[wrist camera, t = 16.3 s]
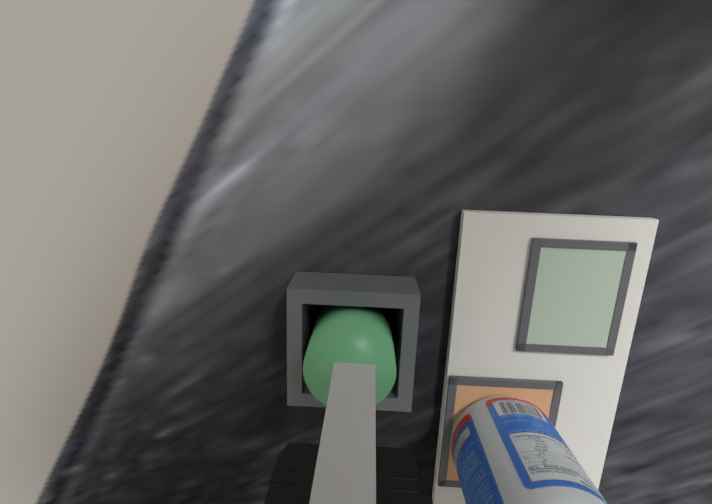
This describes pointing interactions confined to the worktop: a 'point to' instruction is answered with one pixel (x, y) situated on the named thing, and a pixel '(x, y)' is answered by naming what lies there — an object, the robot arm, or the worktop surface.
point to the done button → (350, 347)
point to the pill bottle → (516, 457)
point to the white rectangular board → (543, 324)
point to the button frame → (361, 294)
